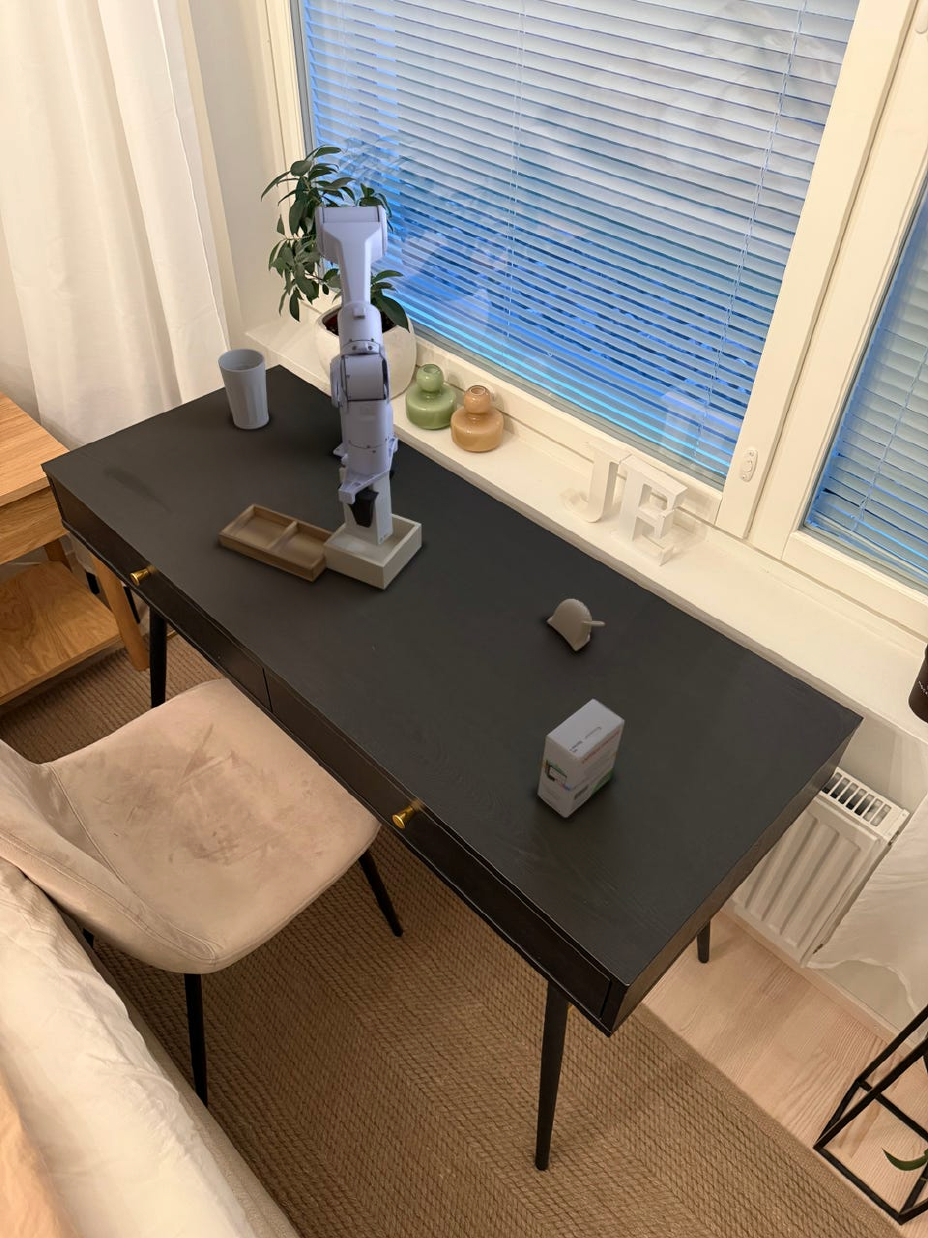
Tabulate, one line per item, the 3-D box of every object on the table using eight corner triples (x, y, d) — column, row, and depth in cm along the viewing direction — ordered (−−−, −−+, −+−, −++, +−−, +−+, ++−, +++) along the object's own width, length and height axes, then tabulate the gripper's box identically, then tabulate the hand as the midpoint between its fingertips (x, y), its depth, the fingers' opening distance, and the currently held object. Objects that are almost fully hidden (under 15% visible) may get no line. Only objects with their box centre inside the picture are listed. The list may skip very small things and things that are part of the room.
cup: (222, 428, 161) (211, 368, 153) (237, 405, 167) (227, 346, 158) (265, 433, 160) (256, 373, 152) (278, 410, 166) (270, 350, 158)
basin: (364, 525, 143) (363, 503, 140) (421, 546, 140) (421, 523, 137) (325, 566, 136) (322, 544, 133) (383, 589, 133) (382, 567, 129)
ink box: (581, 755, 112) (593, 694, 104) (611, 779, 110) (627, 719, 102) (535, 794, 108) (544, 734, 100) (566, 820, 106) (577, 761, 97)
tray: (255, 514, 144) (253, 502, 143) (344, 548, 139) (343, 536, 137) (221, 545, 139) (218, 533, 137) (312, 581, 133) (311, 569, 132)
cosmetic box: (393, 533, 135) (392, 465, 127) (377, 548, 132) (374, 481, 124) (360, 519, 137) (356, 452, 129) (343, 535, 135) (338, 467, 126)
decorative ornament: (568, 611, 131) (572, 584, 127) (604, 647, 126) (609, 620, 122) (546, 621, 129) (549, 594, 125) (581, 658, 124) (586, 631, 120)
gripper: (365, 404, 128) (369, 481, 138) (315, 457, 119) (324, 536, 128) (409, 415, 126) (410, 492, 136) (363, 470, 117) (368, 549, 127)
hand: (371, 514), depth 132 cm, fingers closed on cosmetic box, 4 cm apart
